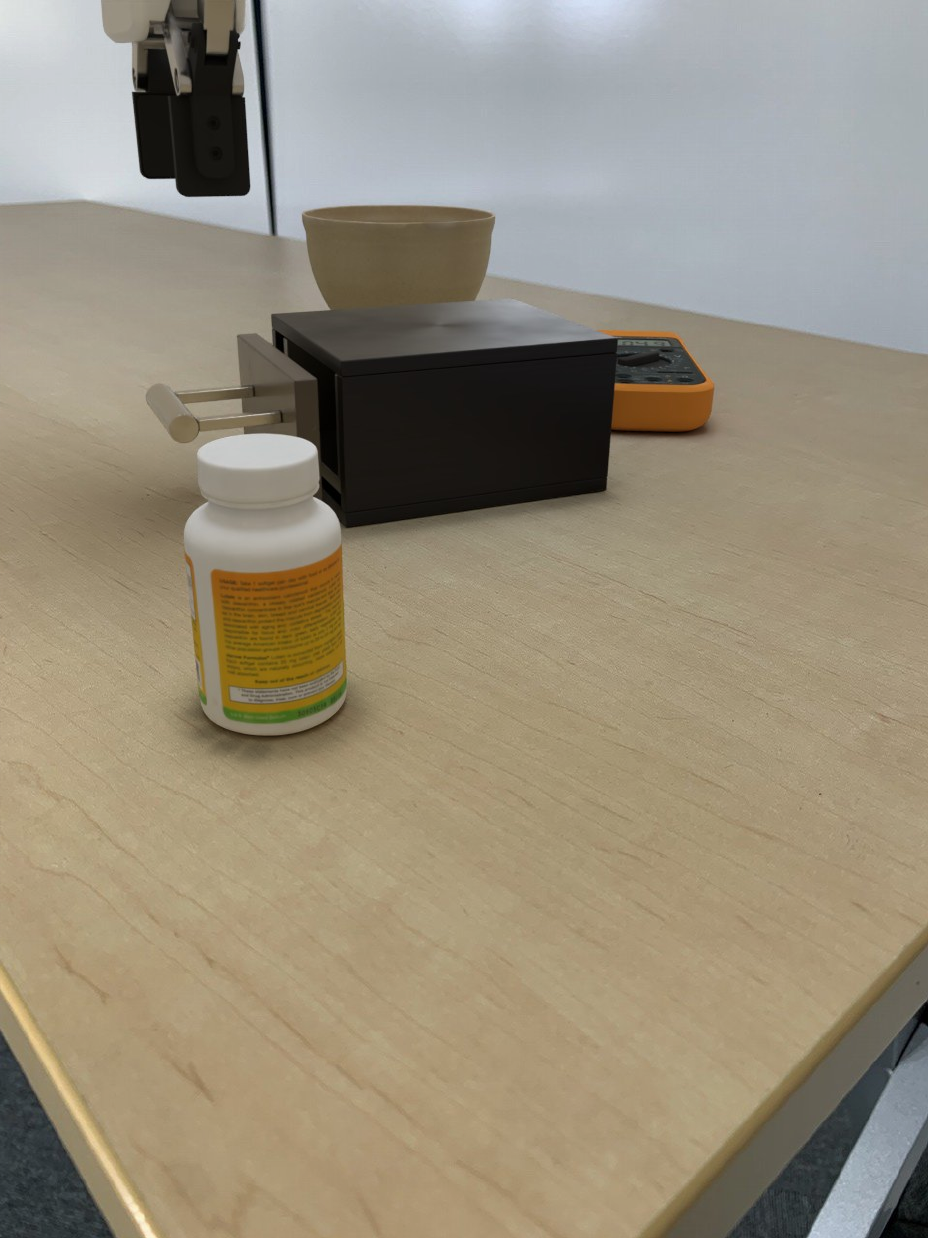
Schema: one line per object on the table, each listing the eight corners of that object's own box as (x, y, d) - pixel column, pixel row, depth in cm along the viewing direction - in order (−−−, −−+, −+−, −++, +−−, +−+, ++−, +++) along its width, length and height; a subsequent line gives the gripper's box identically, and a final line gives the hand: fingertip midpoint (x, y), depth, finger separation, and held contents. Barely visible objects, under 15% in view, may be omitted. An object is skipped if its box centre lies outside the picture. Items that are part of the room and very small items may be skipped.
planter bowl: (519, 335, 100) (524, 208, 96) (442, 372, 87) (443, 227, 82) (365, 318, 106) (362, 198, 102) (271, 350, 93) (263, 214, 88)
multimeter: (585, 434, 73) (589, 382, 71) (568, 369, 89) (571, 326, 87) (715, 437, 72) (722, 385, 71) (675, 372, 89) (679, 328, 87)
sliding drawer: (187, 528, 54) (173, 391, 51) (146, 461, 63) (132, 341, 60) (551, 479, 62) (558, 357, 59) (466, 425, 71) (469, 317, 68)
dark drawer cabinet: (346, 527, 57) (341, 361, 53) (279, 457, 67) (270, 313, 63) (606, 490, 63) (618, 337, 59) (508, 431, 73) (513, 297, 69)
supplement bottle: (377, 700, 41) (372, 449, 37) (263, 758, 37) (243, 487, 33) (284, 653, 44) (269, 417, 40) (170, 702, 41) (141, 448, 36)
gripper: (38, -230, 51) (87, 172, 58) (87, -344, 37) (143, 207, 44) (201, -211, 54) (227, 171, 61) (305, -309, 40) (322, 203, 47)
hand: (192, 185), depth 53 cm, fingers open, 8 cm apart
